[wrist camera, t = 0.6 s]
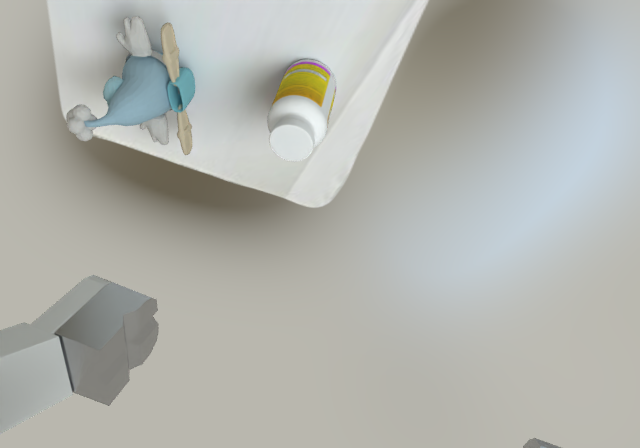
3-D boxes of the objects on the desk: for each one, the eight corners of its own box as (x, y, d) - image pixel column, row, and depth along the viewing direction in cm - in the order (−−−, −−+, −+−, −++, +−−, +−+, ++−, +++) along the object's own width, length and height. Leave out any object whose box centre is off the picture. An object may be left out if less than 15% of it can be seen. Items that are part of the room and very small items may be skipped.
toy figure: (103, -7, 51) (24, 51, 40) (192, 5, 50) (135, 66, 40) (136, 119, 63) (82, 188, 53) (209, 129, 62) (168, 201, 52)
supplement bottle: (276, 64, 54) (248, 122, 45) (327, 50, 52) (309, 109, 43) (295, 111, 58) (274, 173, 49) (343, 100, 56) (330, 163, 47)
